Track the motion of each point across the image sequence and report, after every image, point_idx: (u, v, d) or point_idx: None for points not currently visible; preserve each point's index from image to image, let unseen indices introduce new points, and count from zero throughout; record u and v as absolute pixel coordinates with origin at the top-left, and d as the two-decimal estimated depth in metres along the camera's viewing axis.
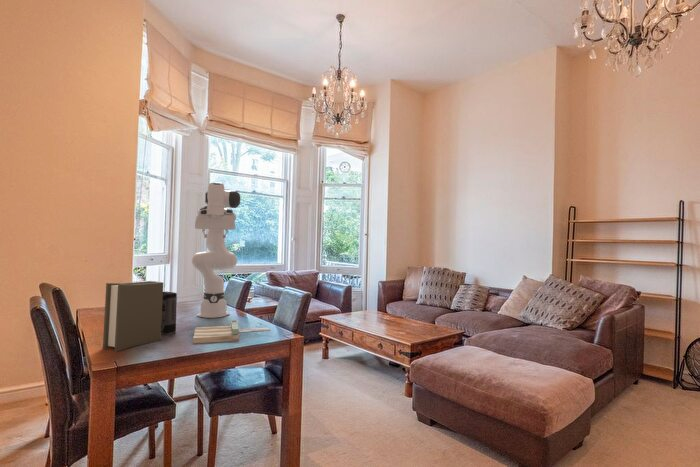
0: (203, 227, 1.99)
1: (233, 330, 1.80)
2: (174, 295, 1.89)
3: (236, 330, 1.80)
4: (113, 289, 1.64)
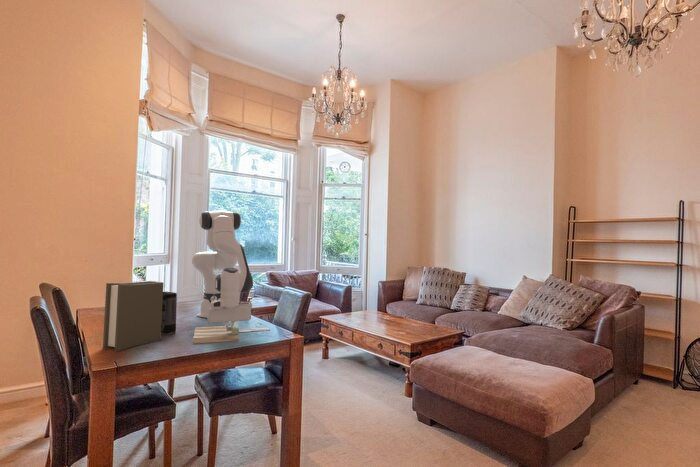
0: (216, 320, 1.80)
1: (233, 330, 1.80)
2: (174, 295, 1.89)
3: (236, 330, 1.80)
4: (113, 289, 1.64)
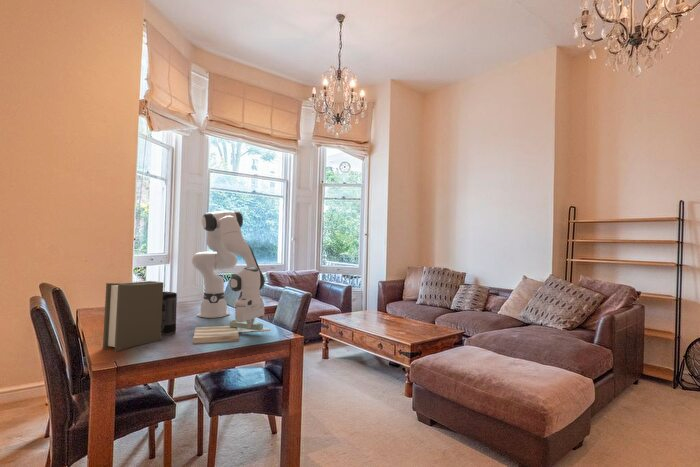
0: (246, 319, 1.83)
1: (260, 326, 1.89)
2: (174, 295, 1.89)
3: (261, 326, 1.90)
4: (113, 289, 1.64)
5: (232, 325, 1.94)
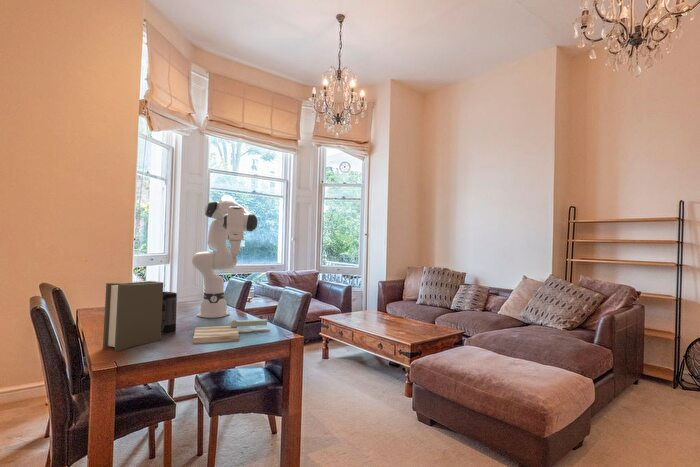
0: None
1: (266, 321, 2.00)
2: (174, 295, 1.89)
3: (266, 320, 2.01)
4: (113, 289, 1.64)
5: (234, 325, 1.94)
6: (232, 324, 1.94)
